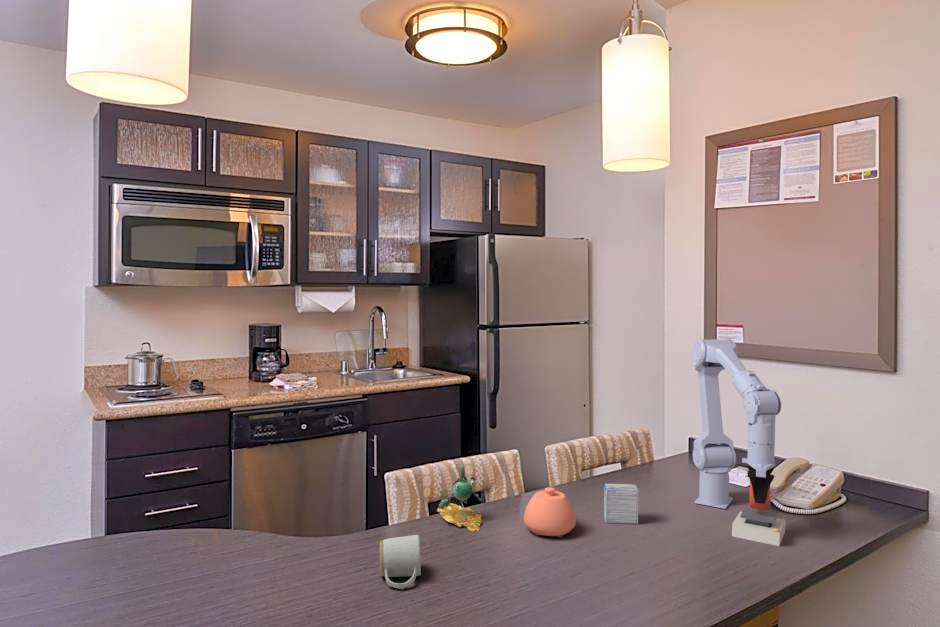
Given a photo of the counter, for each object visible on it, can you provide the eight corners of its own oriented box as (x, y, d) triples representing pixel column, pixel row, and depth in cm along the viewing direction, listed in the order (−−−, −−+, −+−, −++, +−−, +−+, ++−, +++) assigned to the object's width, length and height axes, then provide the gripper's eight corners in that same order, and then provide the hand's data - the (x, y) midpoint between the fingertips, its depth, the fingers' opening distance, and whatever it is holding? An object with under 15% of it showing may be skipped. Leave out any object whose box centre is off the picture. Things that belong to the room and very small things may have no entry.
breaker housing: (740, 523, 156) (740, 508, 156) (785, 532, 151) (785, 517, 151) (731, 536, 148) (732, 521, 148) (779, 546, 142) (779, 530, 142)
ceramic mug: (379, 567, 130) (379, 530, 130) (419, 565, 131) (419, 528, 131) (379, 593, 120) (379, 553, 119) (422, 590, 121) (422, 551, 120)
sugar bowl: (519, 538, 146) (520, 494, 146) (528, 517, 160) (529, 476, 159) (573, 543, 143) (574, 498, 143) (578, 521, 157) (578, 480, 156)
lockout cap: (749, 502, 152) (749, 477, 152) (769, 505, 150) (770, 480, 150) (749, 508, 148) (749, 483, 148) (770, 511, 146) (770, 485, 146)
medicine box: (635, 518, 159) (636, 484, 159) (638, 524, 155) (639, 489, 154) (603, 517, 160) (603, 483, 160) (605, 523, 156) (606, 488, 155)
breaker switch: (745, 521, 154) (746, 506, 154) (777, 527, 150) (777, 512, 150) (740, 530, 148) (740, 515, 148) (773, 536, 144) (773, 521, 144)
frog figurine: (462, 505, 168) (466, 451, 166) (494, 536, 152) (498, 478, 150) (428, 510, 164) (432, 455, 162) (457, 543, 148) (462, 482, 146)
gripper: (742, 433, 157) (741, 488, 157) (742, 447, 143) (740, 506, 144) (774, 436, 154) (773, 492, 154) (776, 450, 141) (775, 511, 141)
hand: (759, 499), depth 149 cm, fingers closed on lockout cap, 4 cm apart
